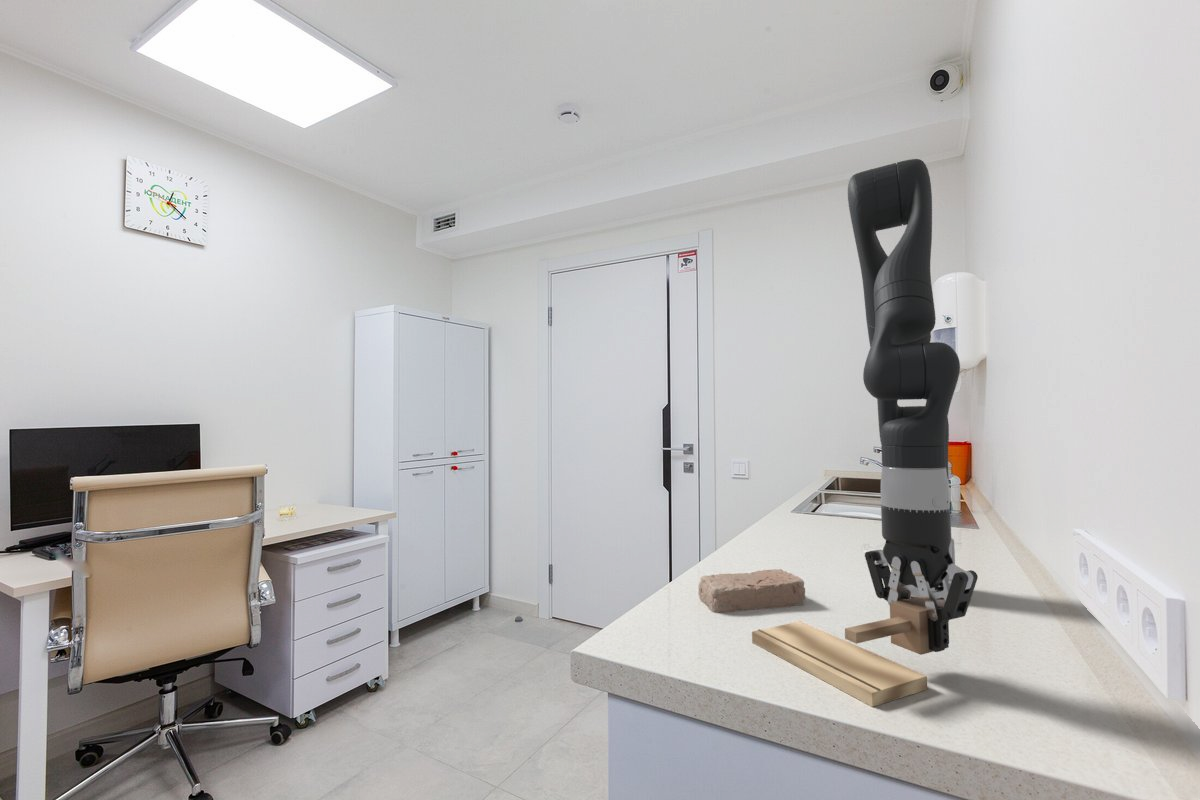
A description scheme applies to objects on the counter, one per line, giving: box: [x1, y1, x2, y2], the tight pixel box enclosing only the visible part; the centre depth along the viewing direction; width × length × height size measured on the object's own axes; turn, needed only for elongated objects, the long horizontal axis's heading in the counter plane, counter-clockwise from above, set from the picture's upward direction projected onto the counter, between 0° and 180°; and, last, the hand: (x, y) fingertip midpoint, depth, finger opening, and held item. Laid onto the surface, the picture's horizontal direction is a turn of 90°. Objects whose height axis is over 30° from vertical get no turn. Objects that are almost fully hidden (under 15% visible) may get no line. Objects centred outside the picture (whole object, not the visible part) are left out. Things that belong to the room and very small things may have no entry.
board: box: [751, 621, 928, 708], centre depth 73 cm, size 9×20×2 cm, turn 24°
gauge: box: [844, 597, 950, 656], centre depth 68 cm, size 15×4×5 cm, turn 114°
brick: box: [698, 568, 806, 614], centre depth 98 cm, size 17×8×5 cm, turn 100°
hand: (919, 642), depth 70 cm, fingers closed on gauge, 4 cm apart
